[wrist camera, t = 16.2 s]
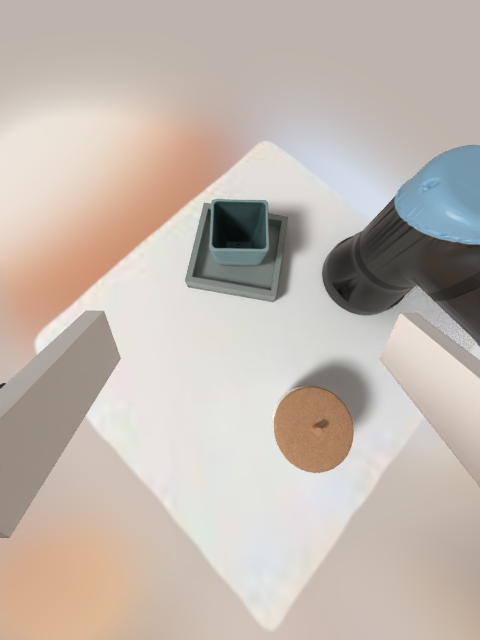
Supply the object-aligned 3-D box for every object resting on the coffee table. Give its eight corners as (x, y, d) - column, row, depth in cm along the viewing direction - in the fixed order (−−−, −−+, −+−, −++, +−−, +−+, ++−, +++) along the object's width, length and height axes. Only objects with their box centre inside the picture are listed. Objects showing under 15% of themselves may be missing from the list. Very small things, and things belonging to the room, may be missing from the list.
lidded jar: (257, 436, 37) (264, 458, 28) (278, 374, 39) (292, 375, 30) (319, 462, 36) (348, 494, 27) (337, 397, 39) (370, 406, 30)
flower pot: (215, 232, 44) (211, 198, 35) (261, 233, 44) (268, 199, 35) (214, 275, 42) (209, 250, 33) (261, 276, 42) (269, 251, 33)
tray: (284, 226, 46) (287, 217, 43) (273, 302, 42) (276, 297, 39) (205, 213, 46) (204, 202, 43) (188, 287, 42) (184, 281, 39)
